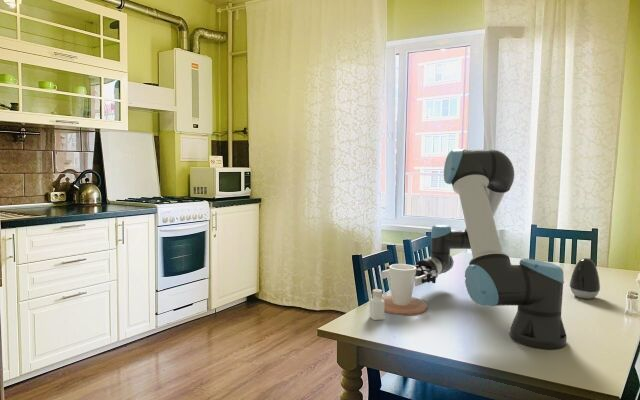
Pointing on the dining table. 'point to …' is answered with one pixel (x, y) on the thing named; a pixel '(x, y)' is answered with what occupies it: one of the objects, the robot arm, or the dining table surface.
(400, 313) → the terracotta plate
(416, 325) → the dining table surface
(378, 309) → the pepper shaker
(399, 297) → the foam cup
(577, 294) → the dark grey egg shape
